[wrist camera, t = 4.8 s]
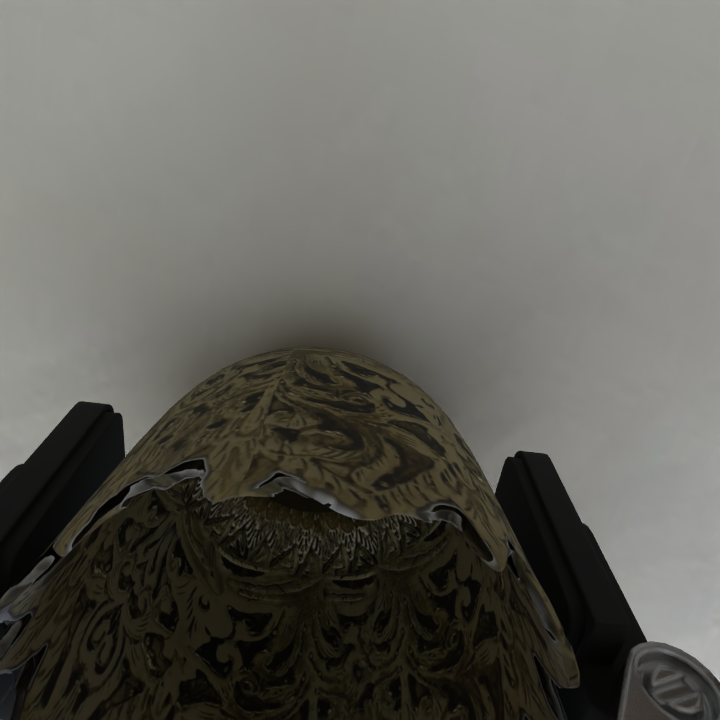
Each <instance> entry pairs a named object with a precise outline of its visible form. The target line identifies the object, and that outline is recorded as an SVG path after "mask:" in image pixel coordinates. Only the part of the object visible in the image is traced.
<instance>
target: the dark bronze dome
mask: <svg viewBox="0 0 720 720" xmlns="http://www.w3.org/2000/svg"><path fill="white" fill-rule="evenodd" d="M2 622H4V623H5V624H6V625H8V624H9V623H10V625H9V626H8V628H7V629H6V631H5V632H4V633H3V634H2V636H1V637H0V674H3V673H8V674H10V673H11V672H10V671H14V670H16V669H17V668H19V667H20V666H22V665H23V664H24V665H23V668H22V669H21V672H20V673H19V676H18V678H17V681H16V683H15V689H16V691H17V693H18V694H17V697H16V700H15V703H14V707H13V710H12V714H11V717H10V720H567V717H566V714H565V711H564V708H563V706H562V703H561V700H560V698H559V694H558V692H557V689H556V686H555V683H556V685H557V686H558V687H559V688H578V687H579V685H580V672H579V669H578V665H577V661H576V658H575V655H574V652H573V649H572V646H571V643H570V642H569V640H568V639H567V637H566V636H565V634H564V632H563V629H564V628H563V626H562V624H561V622H560V620H559V618H558V616H557V614H556V612H555V610H554V608H553V606H552V604H551V602H550V600H549V599H548V597H547V595H546V593H545V592H544V590H543V588H542V587H541V585H540V583H539V581H538V580H537V578H536V576H535V574H534V572H533V570H532V568H531V566H530V564H529V562H528V560H527V558H526V556H525V554H524V552H523V550H522V548H521V546H520V544H519V542H518V540H517V538H516V536H515V534H514V532H513V530H512V528H511V526H510V524H509V522H508V520H507V518H506V516H505V514H504V512H503V510H502V508H501V506H500V504H499V502H498V500H497V499H496V497H495V495H494V493H493V491H492V489H491V487H490V485H489V483H488V481H487V479H486V477H485V475H484V474H483V472H482V470H481V468H480V466H479V464H478V462H477V461H476V459H475V457H474V455H473V454H472V452H471V450H470V449H469V447H468V445H467V444H466V442H465V441H464V440H463V438H462V437H461V435H460V434H459V432H458V431H457V429H456V428H455V426H454V425H453V423H452V422H451V420H450V419H449V418H448V417H447V415H446V414H445V413H444V412H443V411H442V410H441V409H440V408H439V406H438V405H437V404H436V403H435V402H434V401H433V400H432V399H431V398H430V397H429V396H428V395H427V394H426V393H425V392H424V391H423V390H422V389H421V388H419V387H418V386H417V385H416V384H414V383H413V382H412V381H410V380H409V379H407V378H406V377H404V376H403V375H401V374H400V373H398V372H396V371H394V370H392V369H391V368H389V367H387V366H385V365H383V364H381V363H379V362H376V361H374V360H371V359H369V358H367V357H364V356H360V355H357V354H354V353H350V352H345V351H340V350H335V349H327V348H316V347H311V348H290V349H282V350H277V351H272V352H268V353H263V354H259V355H256V356H253V357H250V358H247V359H244V360H241V361H239V362H237V363H234V364H232V365H230V366H228V367H226V368H224V369H222V370H221V371H219V372H217V373H216V374H214V375H212V376H211V377H209V378H208V379H206V380H205V381H203V382H202V383H200V384H199V385H197V386H196V387H195V388H194V389H192V390H191V391H190V392H189V393H187V394H186V395H185V396H184V397H183V398H181V399H180V400H179V401H178V402H177V403H176V404H175V405H174V406H173V407H171V408H170V409H169V410H168V411H167V413H166V414H165V415H164V416H163V417H162V418H161V419H160V420H159V421H158V422H157V423H156V424H155V425H154V426H153V427H152V428H151V429H150V430H149V431H148V432H147V433H146V434H145V435H144V436H143V438H142V439H141V440H140V441H139V442H138V443H137V444H136V445H135V447H134V448H133V449H132V450H131V451H130V452H129V453H128V454H127V456H126V457H125V458H124V459H123V460H122V461H121V462H120V464H119V465H118V466H117V467H116V468H115V469H114V470H113V472H112V473H111V474H110V475H109V476H108V477H107V479H106V480H105V481H104V482H103V483H102V484H101V485H100V487H99V488H98V489H97V490H96V491H95V492H94V494H93V495H92V496H91V497H90V498H89V500H88V501H87V502H86V503H85V504H84V505H83V507H82V508H81V509H80V510H79V511H78V513H77V514H76V515H75V516H74V517H73V519H72V520H71V521H70V522H69V523H68V525H67V526H66V527H65V528H64V529H63V531H62V532H61V533H60V534H59V535H58V537H57V538H56V539H55V540H54V541H53V543H52V544H51V545H50V546H49V547H48V548H47V550H46V551H45V552H44V553H43V554H42V555H41V556H40V558H39V559H38V560H37V561H36V562H35V563H34V564H33V565H32V566H31V567H30V568H29V569H28V570H27V571H26V572H25V573H24V574H23V575H22V576H21V577H20V578H19V579H18V580H17V581H16V582H15V583H14V584H13V585H12V586H11V588H10V589H9V590H8V591H7V592H6V593H5V594H4V595H3V596H2V597H1V599H0V623H2ZM562 628H563V629H562ZM564 631H565V630H564ZM554 682H555V683H554ZM544 685H545V687H544V689H543V687H542V686H544Z"/></svg>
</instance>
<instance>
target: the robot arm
mask: <svg viewBox="0 0 720 720" xmlns="http://www.w3.org/2000/svg"><path fill="white" fill-rule="evenodd" d="M124 458H125V448H124V433H123V419H122V415H121V414H120V413H114V410H113V407H112V406H111V405H109V404H101V403H92V402H83V401H81V402H78V403H77V404H76V405H75V406H74V407H73V408H72V409H71V410H70V411H69V413H68V414H67V415H66V416H65V417H64V418H63V419H62V421H61V422H60V423H59V424H58V425H57V426H56V427H55V429H54V430H53V431H52V432H51V433H50V434H49V436H48V437H47V438H46V439H45V440H44V441H43V442H42V444H41V445H40V446H39V447H38V448H37V449H36V450H35V452H34V453H33V454H32V455H31V456H30V457H29V458H28V460H27V461H26V462H25V463H24V464H21V465H18V466H16V467H15V468H14V469H12V470H11V471H10V472H9V473H8V474H7V476H6V477H5V478H4V479H3V480H2V481H1V482H0V599H1V597H2V596H3V595H4V594H5V593H6V592H7V591H8V590H9V589H10V588H11V586H12V585H13V584H14V583H15V582H16V581H17V580H18V579H19V578H20V577H21V576H22V575H23V574H24V573H25V572H26V571H27V570H28V569H29V568H30V567H31V566H32V565H33V564H34V563H35V562H36V561H37V560H38V559H39V558H40V556H41V555H42V554H43V553H44V552H45V551H46V550H47V548H48V547H49V546H50V545H51V544H52V543H53V541H54V540H55V539H56V538H57V537H58V535H59V534H60V533H61V532H62V531H63V529H64V528H65V527H66V526H67V525H68V523H69V522H70V521H71V520H72V519H73V517H74V516H75V515H76V514H77V513H78V511H79V510H80V509H81V508H82V507H83V505H84V504H85V503H86V502H87V501H88V500H89V498H90V497H91V496H92V495H93V494H94V492H95V491H96V490H97V489H98V488H99V487H100V485H101V484H102V483H103V482H104V481H105V480H106V479H107V477H108V476H109V475H110V474H111V473H112V472H113V470H114V469H115V468H116V467H117V466H118V465H119V464H120V462H121V461H122V460H123V459H124ZM495 497H496V499H497V500H498V502H499V504H500V506H501V508H502V510H503V512H504V514H505V516H506V518H507V520H508V522H509V524H510V526H511V528H512V530H513V532H514V534H515V536H516V538H517V540H518V542H519V544H520V546H521V548H522V550H523V552H524V554H525V556H526V558H527V560H528V562H529V564H530V566H531V568H532V570H533V572H534V574H535V576H536V578H537V580H538V581H539V583H540V585H541V587H542V588H543V590H544V592H545V593H546V595H547V597H548V599H549V600H550V602H551V604H552V606H553V608H554V610H555V612H556V614H557V616H558V618H559V620H560V622H561V624H562V626H563V628H564V629H563V628H562V629H563V632H564V634H565V636H566V637H567V639H568V640H569V642H570V643H571V646H572V649H573V652H574V655H575V658H576V661H577V665H578V669H579V672H580V685H579V687H578V688H559V687H558V686H557V685H556V683H555V682H554V683H555V686H556V689H557V692H558V694H559V698H560V700H561V703H562V706H563V708H564V711H565V714H566V717H567V720H720V682H719V681H718V680H717V679H716V677H715V676H714V675H713V674H712V673H711V672H710V670H708V669H707V668H706V667H705V666H704V665H703V664H701V663H700V662H699V661H698V660H697V659H696V658H694V657H692V656H691V655H689V654H687V653H686V652H684V651H682V650H681V649H678V648H676V647H673V646H670V645H668V644H665V643H659V642H652V641H650V642H647V640H646V638H645V636H644V634H643V632H642V630H641V628H640V626H639V624H638V622H637V620H636V618H635V616H634V614H633V612H632V610H631V608H630V606H629V604H628V602H627V601H626V599H625V597H624V595H623V593H622V591H621V589H620V587H619V585H618V583H617V581H616V579H615V577H614V575H613V573H612V571H611V569H610V567H609V565H608V563H607V561H606V559H605V557H604V555H603V553H602V551H601V549H600V547H599V545H598V543H597V541H596V539H595V537H594V535H593V533H592V532H591V530H590V529H589V527H588V526H587V525H585V524H583V523H582V522H581V520H580V518H579V516H578V514H577V512H576V510H575V508H574V506H573V504H572V502H571V500H570V498H569V496H568V494H567V492H566V490H565V488H564V486H563V484H562V482H561V480H560V478H559V476H558V473H557V471H556V469H555V467H554V465H553V463H552V461H551V459H550V458H549V456H548V455H547V454H543V453H534V452H525V451H518V452H517V453H516V454H515V456H514V457H507V459H506V460H505V463H504V466H503V469H502V472H501V476H500V479H499V482H498V485H497V489H496V492H495ZM9 625H10V623H9V624H8V625H6V624H5V623H4V622H2V623H0V637H1V636H2V634H3V633H4V632H5V631H6V629H7V628H8V626H9ZM564 630H565V631H564ZM23 665H24V664H23ZM23 665H22V666H20V667H19V668H17V669H16V670H14V671H10V672H11V673H10V674H8V673H3V674H0V720H10V717H11V714H12V710H13V707H14V703H15V700H16V697H17V694H18V693H17V691H16V689H15V683H16V681H17V678H18V676H19V673H20V672H21V669H22V668H23ZM542 687H543V689H544V687H545V685H544V686H542Z"/></svg>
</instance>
